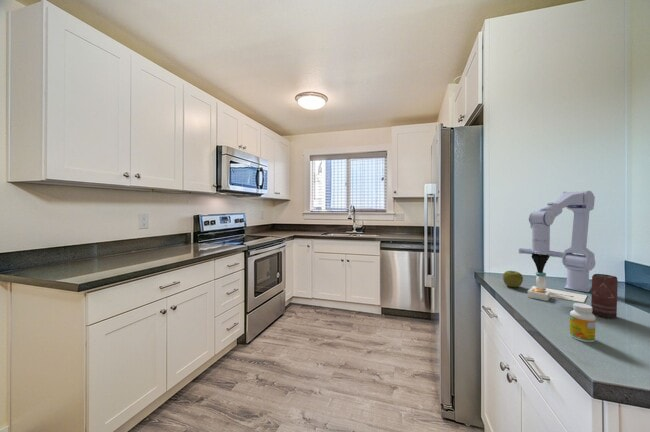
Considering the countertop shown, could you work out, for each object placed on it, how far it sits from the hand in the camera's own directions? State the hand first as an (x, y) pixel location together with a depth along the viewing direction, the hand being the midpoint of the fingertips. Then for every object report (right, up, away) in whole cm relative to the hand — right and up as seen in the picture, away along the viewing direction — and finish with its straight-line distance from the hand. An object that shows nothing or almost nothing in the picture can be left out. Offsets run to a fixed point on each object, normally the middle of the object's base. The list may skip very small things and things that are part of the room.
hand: (540, 272), depth 110 cm
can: (+8, -11, -18) cm, 23 cm away
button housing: (0, -10, 0) cm, 10 cm away
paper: (+10, -10, +3) cm, 14 cm away
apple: (-1, -10, +14) cm, 17 cm away
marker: (+6, -10, +7) cm, 13 cm away
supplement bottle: (-14, -13, -32) cm, 38 cm away
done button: (0, -10, 0) cm, 10 cm away
